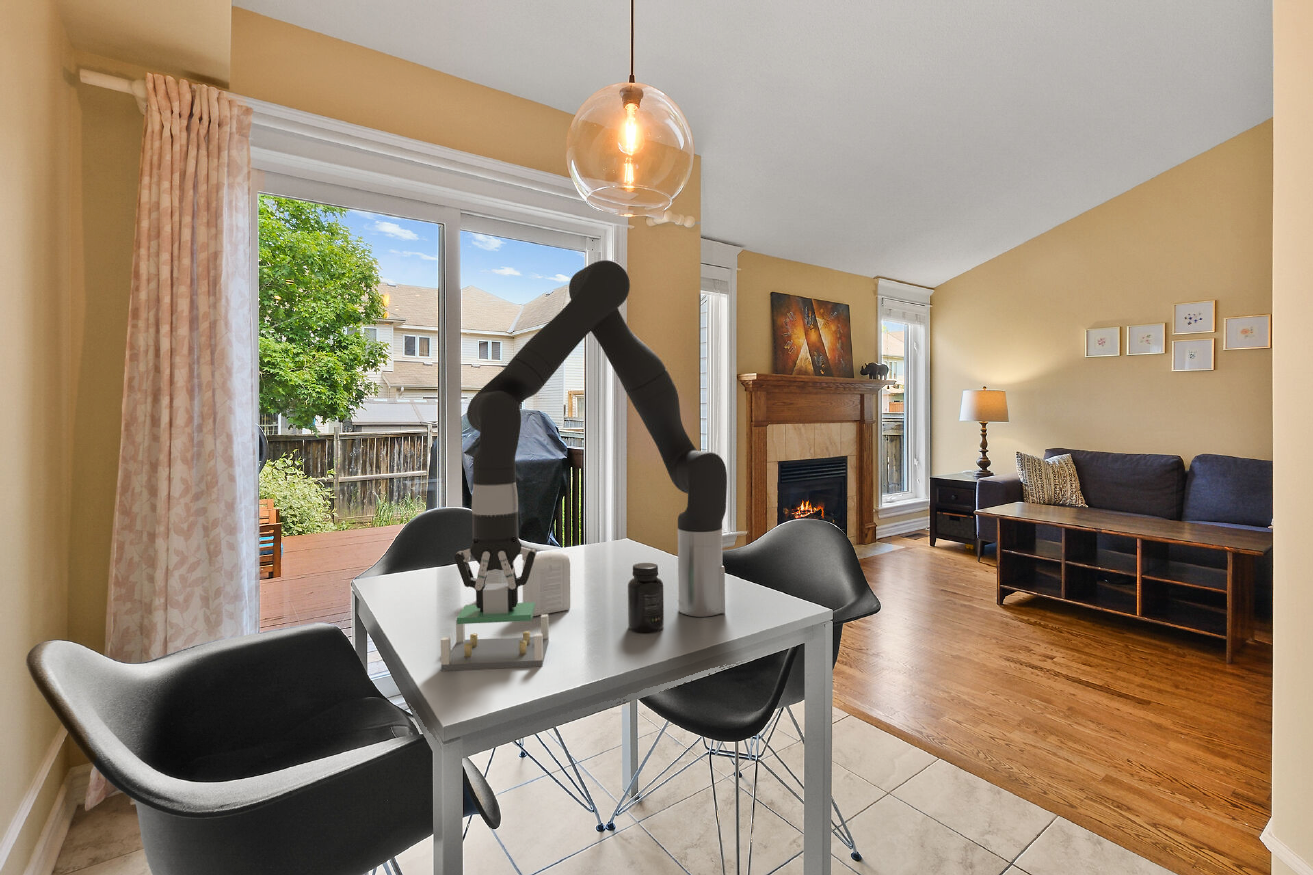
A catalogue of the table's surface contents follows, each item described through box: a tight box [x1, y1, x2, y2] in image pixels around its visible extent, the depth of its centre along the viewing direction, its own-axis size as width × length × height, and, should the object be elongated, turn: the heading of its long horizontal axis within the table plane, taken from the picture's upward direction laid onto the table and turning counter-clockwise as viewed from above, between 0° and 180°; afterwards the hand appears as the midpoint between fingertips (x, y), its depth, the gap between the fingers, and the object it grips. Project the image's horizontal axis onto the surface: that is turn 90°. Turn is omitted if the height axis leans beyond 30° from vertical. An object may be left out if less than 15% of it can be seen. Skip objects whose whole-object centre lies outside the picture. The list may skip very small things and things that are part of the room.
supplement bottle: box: [627, 562, 665, 634], centre depth 116 cm, size 7×7×12 cm
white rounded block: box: [522, 551, 571, 617], centre depth 127 cm, size 10×4×12 cm, turn 123°
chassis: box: [440, 613, 550, 672], centre depth 103 cm, size 16×11×5 cm
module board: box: [456, 583, 535, 625], centre depth 103 cm, size 12×7×5 cm, turn 96°
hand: (497, 609), depth 103 cm, fingers closed on module board, 4 cm apart
